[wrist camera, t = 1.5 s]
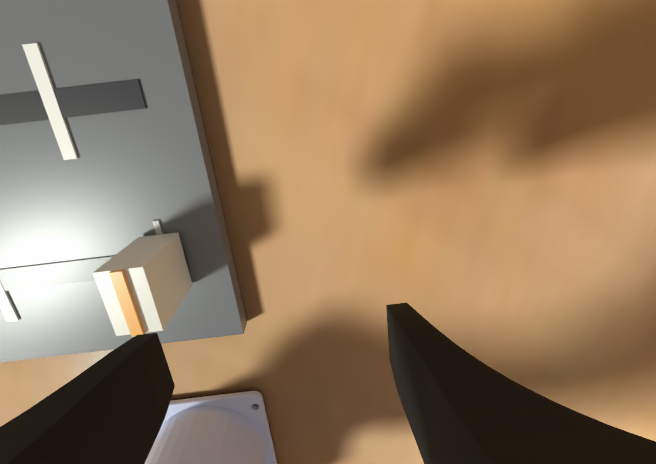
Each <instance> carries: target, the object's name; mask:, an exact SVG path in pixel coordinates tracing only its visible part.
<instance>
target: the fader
mask: <svg viewBox="0 0 656 464" xmlns="http://www.w3.org/2000/svg"><path fill="white" fill-rule="evenodd" d="M93 276H94V278H95V281H96V284H97V286H98V289H99V292H100V294H101V297H102V300H103V302H104V305H105V308H106V310H107V313H108V316H109V318H110V321H111V324H112V326H113V329H114V332H115V334H116V336H122V335H130V334H131V337H135V336H136V335H141V334H145V333H147V332H155V331H163V330H164V328H165V327H166V325H167V324H168V322H169V321H170V319H171V318H172V316H173V315H174V313H175V312H176V310H177V308H178V307H179V305H180V304H181V302H182V301H183V299H184V298H185V296H186V295H187V293H188V292H189V290H190V289H191V287H192V281H191V277H190V274H189V270H188V266H187V263H186V259H185V255H184V252H183V248H182V244H181V241H180V237H179V233H178V232H177V233H169V234H160V235H152V236H144V237H138V238H137V239H135V240H134V241H133V242H132V243H130V244H129V245H128V246H126V247H125V248H124V249H123V250H121V251H120V252H119V253H117V254H116V255H115V256H114V257H112V258H111V259H110V260H108V261H107V262H106V263H105V264H103V265H102V266H101V267H99V268H98V269H97V270H96V271H94V272H93Z"/></svg>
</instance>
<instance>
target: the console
mask: <svg viewBox="0 0 656 464" xmlns="http://www.w3.org/2000/svg"><path fill="white" fill-rule="evenodd" d="M177 232H178V233H179V237H180V241H181V244H182V248H183V252H184V255H185V259H186V263H187V266H188V270H189V274H190V277H191V281H192V287H191V289H190V290H189V292H188V293H187V295H186V296H185V298H184V299H183V301H182V302H181V304H180V305H179V307H178V308H177V310H176V312H175V313H174V315H173V316H172V318H171V319H170V321H169V322H168V324H167V325H166V327H165V328H164V330H163V331H155V332H147V333H145V334H150V333H157V334H158V337H159V340H160V343H170V342H178V341H186V340H195V339H203V338H212V337H220V336H229V335H237V334H244V330H245V327H246V323H247V319H246V315H245V310H244V306H243V301H242V297H241V292H240V287H239V283H238V278H237V274H236V269H235V265H234V260H233V256H232V251H231V247H230V242H229V238H228V233H227V229H226V224H225V220H224V215H223V211H222V206H221V201H220V197H219V192H218V188H217V183H216V179H215V174H214V170H213V165H212V161H211V156H210V152H209V147H208V143H207V138H206V134H205V129H204V125H203V120H202V115H201V111H200V106H199V102H198V97H197V93H196V88H195V84H194V79H193V75H192V70H191V66H190V61H189V57H188V52H187V48H186V43H185V39H184V34H183V30H182V25H181V20H180V16H179V11H178V7H177V2H176V0H0V363H2V362H10V361H18V360H27V359H35V358H44V357H52V356H60V355H69V354H77V353H86V352H94V351H102V350H111V349H116V348H118V347H119V346H121V345H122V344H123V343H125V342H127V341H128V340H130V339H131V338H133V337H131V334H130V335H122V336H116V334H115V332H114V329H113V326H112V324H111V321H110V318H109V316H108V313H107V310H106V308H105V305H104V302H103V300H102V297H101V294H100V292H99V289H98V286H97V284H96V281H95V278H94V276H93V272H94V271H96V270H97V269H98V268H99V267H101V266H102V265H103V264H105V263H106V262H107V261H108V260H110V259H111V258H112V257H114V256H115V255H116V254H117V253H119V252H120V251H121V250H123V249H124V248H125V247H126V246H128V245H129V244H130V243H132V242H133V241H134V240H135V239H137V238H138V237H144V236H152V235H160V234H169V233H177Z"/></svg>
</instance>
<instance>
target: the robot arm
mask: <svg viewBox="0 0 656 464" xmlns="http://www.w3.org/2000/svg"><path fill="white" fill-rule="evenodd" d="M387 321H388V337H389V353H390V362H391V367H392V371H393V375H394V379H395V383H396V387H397V391H398V394H399V397H400V399H401V402H402V405H403V407H404V410H405V413H406V416H407V418H408V421H409V424H410V426H411V429H412V432H413V434H414V437H415V440H416V443H417V445H418V448H419V451H420V453H421V456H422V459H423V461H424V464H656V442H655V441H652V440H649V439H646V438H643V437H641V436H638V435H635V434H632V433H629V432H626V431H624V430H621V429H618V428H615V427H612V426H610V425H607V424H605V423H602V422H600V421H598V420H595V419H593V418H590V417H588V416H585V415H583V414H581V413H578V412H576V411H573V410H571V409H569V408H567V407H565V406H562V405H560V404H558V403H556V402H553V401H551V400H549V399H547V398H545V397H543V396H541V395H539V394H537V393H535V392H533V391H531V390H529V389H527V388H525V387H523V386H521V385H520V384H518V383H516V382H514V381H512V380H510V379H509V378H507V377H505V376H504V375H502V374H500V373H499V372H497V371H495V370H493V369H492V368H490V367H488V366H487V365H485V364H484V363H482V362H481V361H479V360H478V359H476V358H475V357H473V356H472V355H470V354H469V353H467V352H466V351H465V350H463V349H462V348H460V347H459V346H458V345H456V344H455V343H454V342H452V341H451V340H450V339H449V338H447V337H446V336H445V335H444V334H442V333H441V332H440V331H439V330H437V329H436V328H435V327H434V326H433V325H431V324H430V323H429V322H428V321H427V320H426V319H425V318H423V317H422V316H421V315H420V314H419V313H418V312H417V311H415V310H414V309H413V308H412V307H411V306H410V305H409V304H407V303H400V304H392V305H387ZM174 386H175V385H174V382H173V379H172V376H171V373H170V370H169V367H168V364H167V361H166V358H165V355H164V352H163V349H162V346H161V343H160V340H159V337H158V334H157V333H150V334H141V335H136V336H135V337H133V338H131V339H130V340H128V341H127V342H125V343H123V344H122V345H121V346H119V347H118V348H116V349H115V350H113V351H112V352H110V353H109V354H108V355H106V356H105V357H103V358H102V359H101V360H99V361H98V362H96V363H95V364H94V365H92V366H91V367H89V368H88V369H87V370H85V371H84V372H82V373H81V374H80V375H78V376H77V377H75V378H74V379H73V380H71V381H70V382H68V383H67V384H65V385H64V386H62V387H61V388H59V389H58V390H57V391H55V392H54V393H52V394H51V395H49V396H48V397H46V398H45V399H43V400H42V401H40V402H39V403H37V404H36V405H34V406H33V407H31V408H30V409H28V410H27V411H25V412H24V413H22V414H20V415H19V416H17V417H16V418H14V419H12V420H11V421H9V422H8V423H6V424H4V425H3V426H1V427H0V464H277V460H276V455H275V451H274V446H273V442H272V437H271V433H270V428H269V424H268V419H267V415H266V410H265V406H264V401H263V397H262V394H261V393H260V392H258V391H247V392H239V393H230V394H222V395H214V396H205V397H197V398H188V399H180V400H172V401H170V400H171V397H172V393H173V390H174ZM254 404H258V405H254Z"/></svg>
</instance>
